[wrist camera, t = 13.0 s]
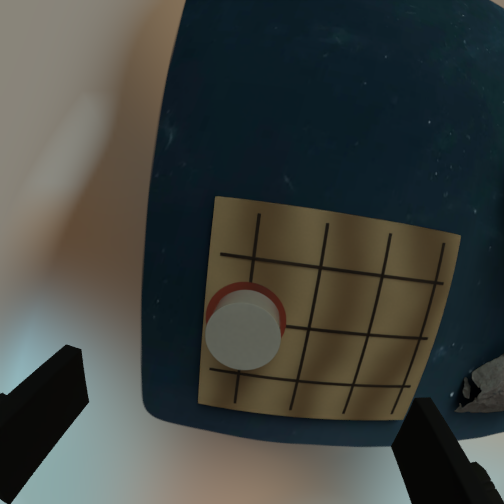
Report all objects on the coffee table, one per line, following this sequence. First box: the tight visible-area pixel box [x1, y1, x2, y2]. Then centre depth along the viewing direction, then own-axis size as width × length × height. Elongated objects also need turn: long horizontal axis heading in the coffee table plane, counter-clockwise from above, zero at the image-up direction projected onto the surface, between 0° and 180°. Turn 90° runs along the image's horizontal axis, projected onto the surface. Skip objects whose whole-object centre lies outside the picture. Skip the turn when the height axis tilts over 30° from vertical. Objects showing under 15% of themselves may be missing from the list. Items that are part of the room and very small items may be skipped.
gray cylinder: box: [205, 290, 281, 370], centre depth 28 cm, size 6×6×4 cm
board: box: [198, 196, 461, 420], centre depth 30 cm, size 24×22×2 cm
